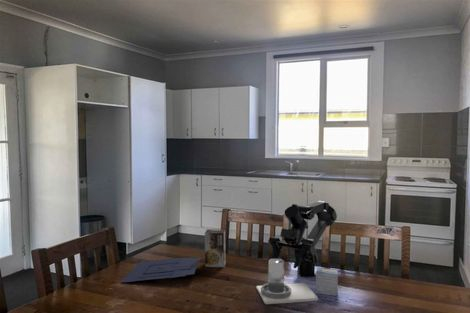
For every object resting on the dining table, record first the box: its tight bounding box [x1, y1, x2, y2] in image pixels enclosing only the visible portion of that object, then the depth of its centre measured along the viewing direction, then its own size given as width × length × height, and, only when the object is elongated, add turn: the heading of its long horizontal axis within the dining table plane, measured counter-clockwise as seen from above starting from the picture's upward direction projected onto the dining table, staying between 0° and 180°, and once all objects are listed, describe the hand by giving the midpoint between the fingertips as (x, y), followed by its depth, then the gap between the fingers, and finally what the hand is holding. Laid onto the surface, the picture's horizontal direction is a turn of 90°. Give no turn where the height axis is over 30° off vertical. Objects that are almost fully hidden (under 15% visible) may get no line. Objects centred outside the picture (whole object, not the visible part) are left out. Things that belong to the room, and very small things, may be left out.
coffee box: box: [204, 228, 227, 268], centre depth 170 cm, size 9×6×16 cm
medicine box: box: [315, 267, 339, 297], centre depth 140 cm, size 8×4×9 cm, turn 71°
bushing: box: [266, 258, 287, 294], centre depth 138 cm, size 8×8×12 cm
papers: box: [120, 257, 202, 284], centre depth 159 cm, size 24×30×4 cm
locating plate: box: [255, 282, 319, 305], centre depth 139 cm, size 20×14×2 cm
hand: (283, 265), depth 142 cm, fingers open, 9 cm apart
